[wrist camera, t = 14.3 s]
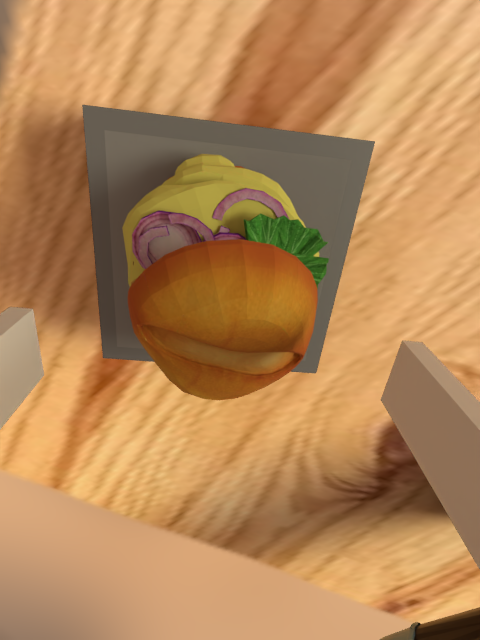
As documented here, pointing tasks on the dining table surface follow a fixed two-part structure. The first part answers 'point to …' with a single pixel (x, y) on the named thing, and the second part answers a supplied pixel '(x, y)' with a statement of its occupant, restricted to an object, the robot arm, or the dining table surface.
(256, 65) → the dining table surface
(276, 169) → the tray
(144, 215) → the cheeseburger
